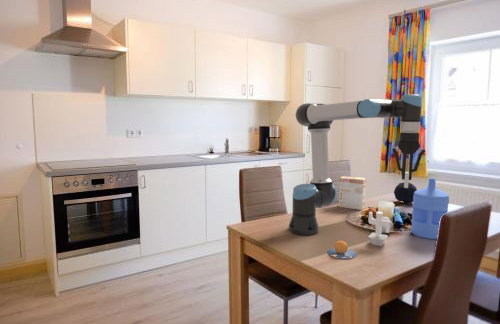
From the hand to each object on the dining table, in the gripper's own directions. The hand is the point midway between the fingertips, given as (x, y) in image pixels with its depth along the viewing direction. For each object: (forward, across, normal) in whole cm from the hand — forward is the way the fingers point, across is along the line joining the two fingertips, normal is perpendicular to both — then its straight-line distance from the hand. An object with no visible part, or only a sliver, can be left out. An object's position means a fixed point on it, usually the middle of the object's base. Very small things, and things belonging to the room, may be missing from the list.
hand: (405, 187), depth 150 cm
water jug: (+29, -13, -28) cm, 42 cm away
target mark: (+28, +24, +14) cm, 40 cm away
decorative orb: (+29, -5, -92) cm, 96 cm away
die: (+29, +8, -23) cm, 38 cm away
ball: (+26, +24, +13) cm, 38 cm away
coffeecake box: (+29, +28, -66) cm, 77 cm away
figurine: (+29, +10, -5) cm, 31 cm away
